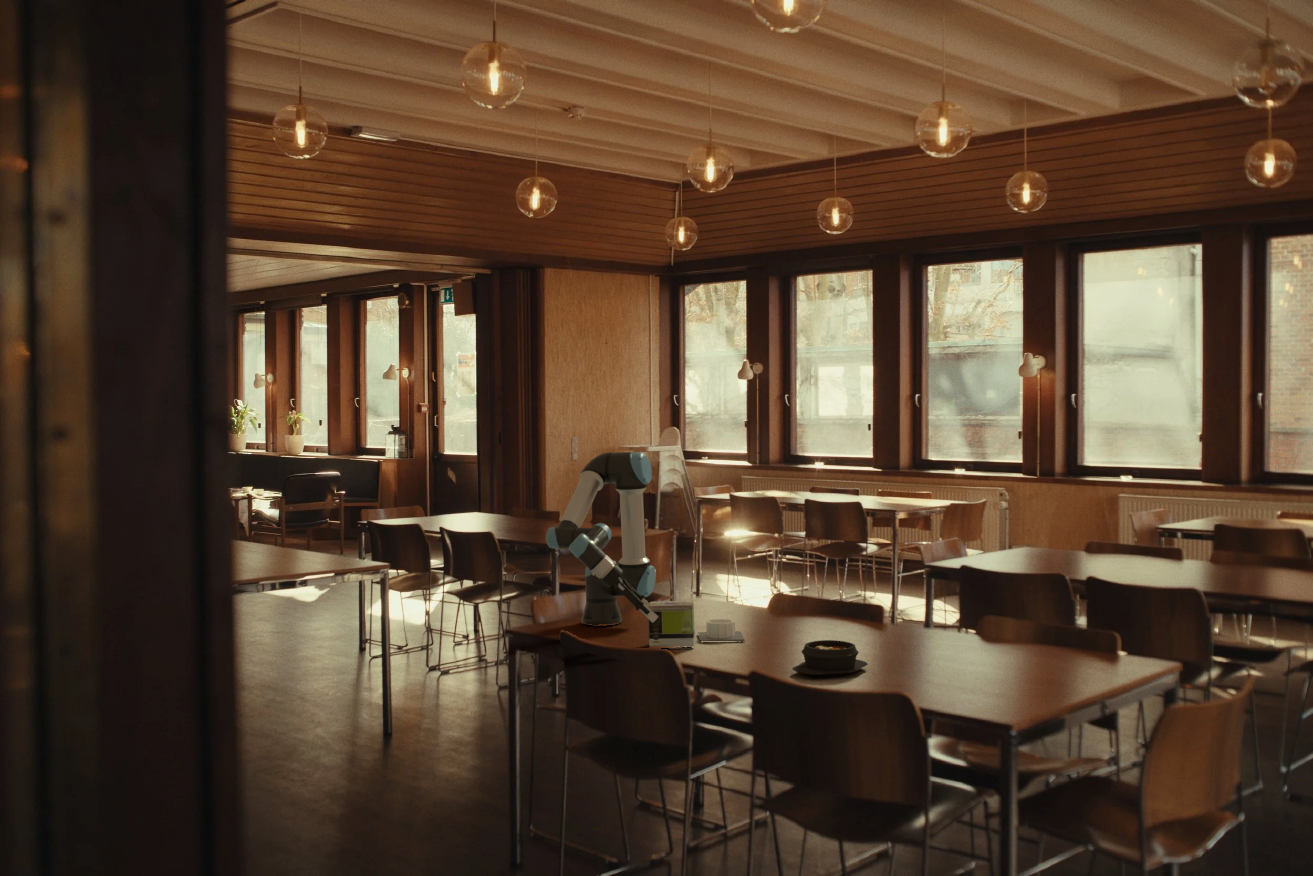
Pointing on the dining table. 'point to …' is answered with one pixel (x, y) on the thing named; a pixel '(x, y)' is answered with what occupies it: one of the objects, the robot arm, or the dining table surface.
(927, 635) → the dining table surface
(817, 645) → the casserole
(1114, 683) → the dining table surface
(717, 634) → the bowl
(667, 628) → the tea box
